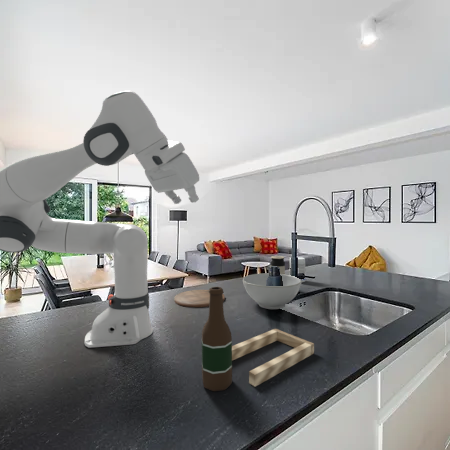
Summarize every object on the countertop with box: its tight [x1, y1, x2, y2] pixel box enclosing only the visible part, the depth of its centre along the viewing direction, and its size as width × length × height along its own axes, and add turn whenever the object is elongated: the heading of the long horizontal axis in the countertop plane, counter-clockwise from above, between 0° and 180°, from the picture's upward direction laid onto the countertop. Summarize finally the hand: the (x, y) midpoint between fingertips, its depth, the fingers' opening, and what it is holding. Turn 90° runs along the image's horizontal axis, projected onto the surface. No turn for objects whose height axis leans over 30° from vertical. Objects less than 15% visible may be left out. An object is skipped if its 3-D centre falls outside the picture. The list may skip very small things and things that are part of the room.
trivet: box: [173, 289, 226, 309], centre depth 141 cm, size 25×25×2 cm
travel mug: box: [270, 255, 286, 275], centre depth 161 cm, size 8×8×18 cm
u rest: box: [232, 328, 315, 388], centre depth 83 cm, size 26×15×3 cm, turn 130°
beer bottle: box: [201, 286, 233, 392], centre depth 70 cm, size 8×8×24 cm
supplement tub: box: [289, 256, 307, 284], centre depth 177 cm, size 10×10×15 cm
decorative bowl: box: [242, 272, 302, 310], centre depth 131 cm, size 27×27×12 cm
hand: (186, 202), depth 75 cm, fingers open, 8 cm apart
